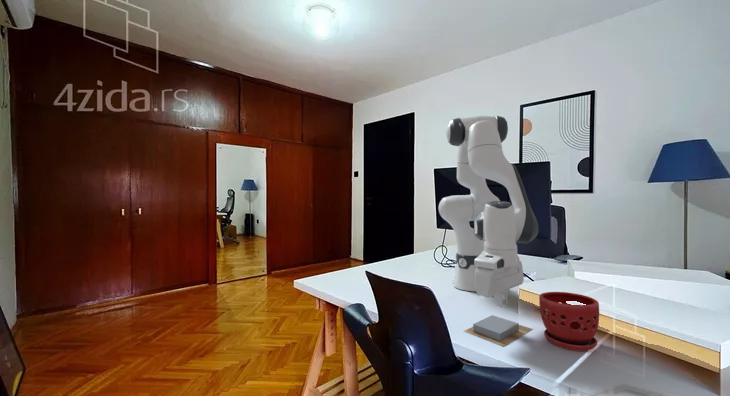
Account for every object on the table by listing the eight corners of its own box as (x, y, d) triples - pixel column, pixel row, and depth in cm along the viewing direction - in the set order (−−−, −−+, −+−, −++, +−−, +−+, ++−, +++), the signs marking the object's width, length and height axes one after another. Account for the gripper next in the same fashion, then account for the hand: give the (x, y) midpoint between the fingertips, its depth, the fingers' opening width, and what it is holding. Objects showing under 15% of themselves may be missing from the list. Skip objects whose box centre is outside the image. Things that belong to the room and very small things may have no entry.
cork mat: (493, 318, 98) (493, 316, 98) (533, 331, 89) (533, 329, 89) (463, 333, 88) (463, 331, 88) (503, 349, 79) (503, 346, 79)
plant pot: (610, 346, 79) (609, 299, 79) (581, 361, 73) (580, 309, 72) (558, 328, 90) (557, 287, 90) (529, 338, 84) (528, 294, 84)
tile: (492, 315, 94) (473, 324, 88) (518, 323, 88) (500, 333, 82) (492, 322, 94) (473, 331, 88) (518, 330, 88) (500, 341, 82)
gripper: (508, 251, 98) (509, 295, 98) (470, 261, 86) (471, 310, 86) (528, 254, 93) (529, 300, 93) (491, 264, 81) (492, 317, 81)
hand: (501, 305), depth 90 cm, fingers closed
